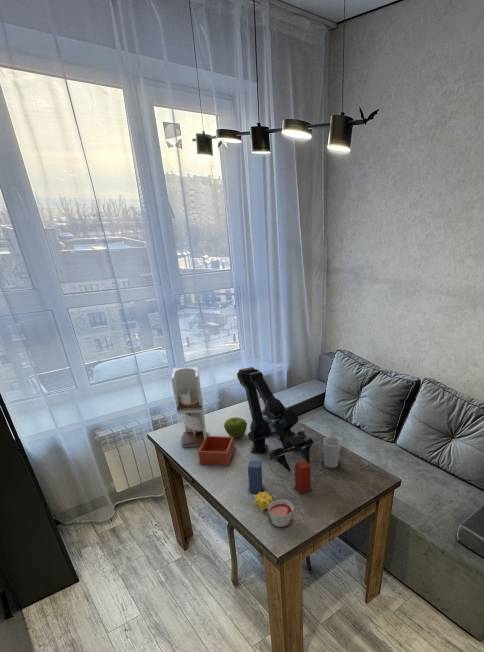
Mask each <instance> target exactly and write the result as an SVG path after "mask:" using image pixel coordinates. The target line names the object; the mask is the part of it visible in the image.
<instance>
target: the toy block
mask: <svg viewBox="0 0 484 652" xmlns="http://www.w3.org/2000/svg"><path fill="white" fill-rule="evenodd" d="M254 497H255V499H254V505H255V506H257V507H258V508H259V509H260V510H261V511H264V510H268V507H269V505H270V503H272V502H273V498H274V497H275V495H274V494H271V495H270V494H269V493H268V491H267V490H265V491H261V492H258V493H255V495H254Z"/></svg>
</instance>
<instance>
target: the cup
mask: <svg viewBox="0 0 484 652" xmlns="http://www.w3.org/2000/svg"><path fill="white" fill-rule="evenodd" d="M322 441H323V459H324V460H323V461H324V463H323V465H324V466H325V467H327V468H328V469H329V468H330V469H335V468H337V467H338V466H339V460H340V459H339V458H340V453H341V449H342V439H341V438H339V437H336V436H328V437H327V436H326V437H325V438H324V439H323V440H322Z"/></svg>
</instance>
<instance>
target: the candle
mask: <svg viewBox="0 0 484 652" xmlns="http://www.w3.org/2000/svg"><path fill="white" fill-rule="evenodd" d="M267 510H268V513H269V517H270V520H271V523H272V525H273V526H276V527H278V528H281V527H286V526H288V525H289V524H290V522H291V520H292V516H293V512H294V511H293V510H294V505H293V503H292V502H291V501H289V500H287V499H276V500H272V503H270V505H269V507H268V508H267Z"/></svg>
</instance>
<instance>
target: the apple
mask: <svg viewBox="0 0 484 652" xmlns="http://www.w3.org/2000/svg"><path fill="white" fill-rule="evenodd" d="M247 427H248V422H247V421H246V420H245V419H244V418H242V417H238V416H237V417H230V418H228V419H226V420H225V422H224V424H223V428H224V430H225V432H226V433H227V434H228V437H234V439H240V438H241V437H243V436H244V435H245V433H246V431H247Z"/></svg>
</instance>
